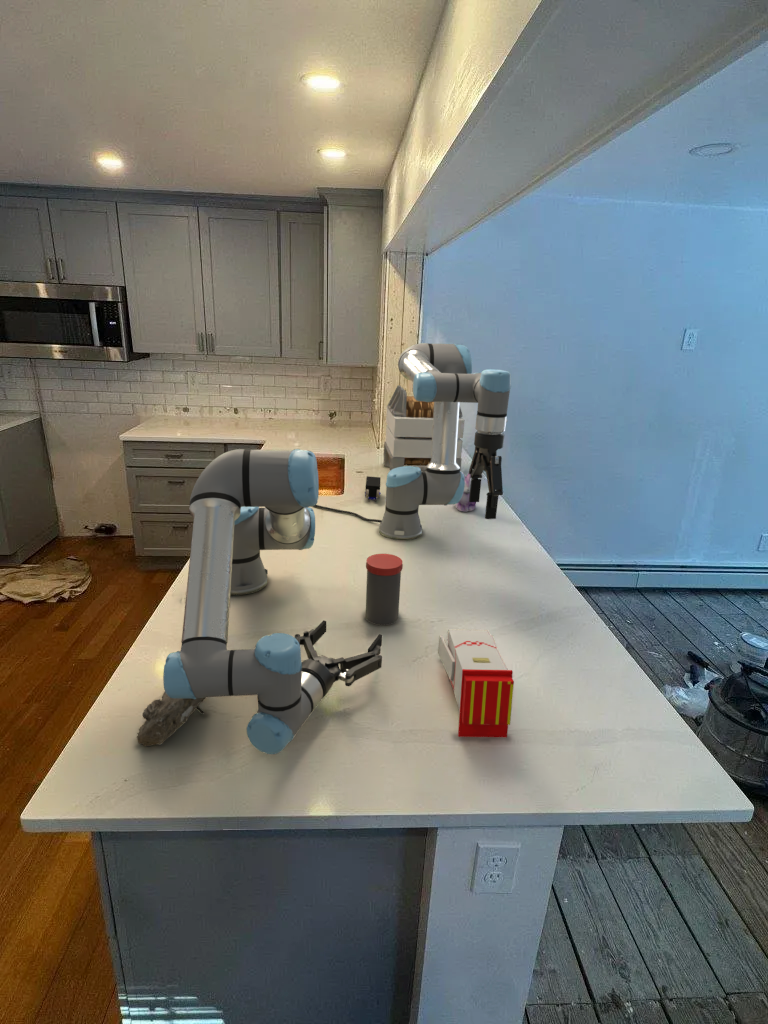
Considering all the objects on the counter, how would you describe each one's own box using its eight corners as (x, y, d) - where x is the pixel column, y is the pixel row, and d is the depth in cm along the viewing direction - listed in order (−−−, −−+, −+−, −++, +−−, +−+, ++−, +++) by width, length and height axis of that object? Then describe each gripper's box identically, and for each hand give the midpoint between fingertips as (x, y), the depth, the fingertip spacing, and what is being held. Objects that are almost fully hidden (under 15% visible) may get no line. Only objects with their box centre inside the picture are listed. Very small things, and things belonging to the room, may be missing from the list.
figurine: (463, 513, 222) (466, 477, 217) (448, 505, 231) (451, 470, 225) (482, 510, 226) (486, 474, 221) (467, 503, 235) (471, 468, 230)
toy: (488, 613, 130) (523, 677, 101) (484, 667, 133) (517, 744, 104) (435, 612, 130) (455, 676, 101) (432, 666, 133) (451, 743, 103)
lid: (408, 565, 143) (408, 558, 143) (392, 579, 135) (393, 572, 135) (376, 557, 147) (376, 550, 146) (359, 570, 139) (359, 563, 139)
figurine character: (380, 506, 230) (380, 491, 243) (381, 489, 227) (381, 475, 240) (364, 506, 230) (364, 491, 243) (364, 489, 226) (365, 474, 240)
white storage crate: (382, 463, 289) (386, 382, 275) (445, 464, 293) (451, 384, 279) (390, 482, 257) (394, 392, 243) (460, 483, 261) (468, 394, 247)
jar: (403, 613, 148) (407, 560, 143) (389, 628, 141) (392, 572, 135) (374, 605, 151) (377, 552, 146) (359, 619, 144) (361, 564, 139)
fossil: (167, 656, 118) (217, 624, 113) (199, 686, 121) (249, 656, 116) (112, 740, 99) (170, 705, 94) (152, 773, 102) (210, 741, 97)
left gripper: (251, 686, 114) (302, 634, 132) (366, 721, 105) (403, 660, 124) (250, 654, 111) (302, 605, 130) (367, 687, 103) (405, 630, 122)
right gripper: (522, 442, 135) (512, 526, 142) (487, 422, 158) (480, 495, 165) (492, 442, 133) (483, 526, 141) (461, 422, 157) (455, 495, 164)
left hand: (352, 632), depth 127 cm, fingers open, 13 cm apart
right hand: (481, 509), depth 153 cm, fingers open, 13 cm apart
